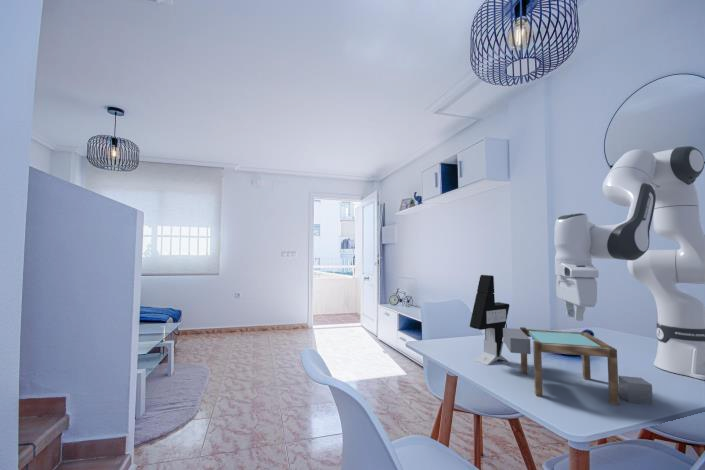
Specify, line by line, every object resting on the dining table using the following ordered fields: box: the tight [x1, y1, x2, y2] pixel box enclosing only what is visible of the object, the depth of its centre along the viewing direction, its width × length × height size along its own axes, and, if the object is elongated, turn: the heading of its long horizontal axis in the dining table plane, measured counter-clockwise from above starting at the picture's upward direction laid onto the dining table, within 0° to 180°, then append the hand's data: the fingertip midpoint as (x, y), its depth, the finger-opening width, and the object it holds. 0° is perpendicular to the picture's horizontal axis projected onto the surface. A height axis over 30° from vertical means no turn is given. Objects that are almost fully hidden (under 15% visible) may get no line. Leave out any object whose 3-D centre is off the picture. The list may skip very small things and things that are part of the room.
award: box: [469, 274, 510, 366], centre depth 116 cm, size 15×5×30 cm, turn 117°
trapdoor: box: [502, 327, 601, 355], centre depth 95 cm, size 22×14×4 cm, turn 74°
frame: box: [519, 326, 620, 406], centre depth 93 cm, size 18×18×14 cm
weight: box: [618, 375, 654, 406], centre depth 85 cm, size 5×5×5 cm
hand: (574, 318), depth 93 cm, fingers open, 5 cm apart
